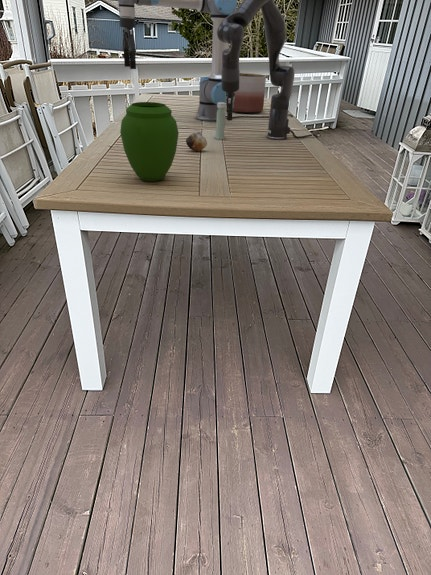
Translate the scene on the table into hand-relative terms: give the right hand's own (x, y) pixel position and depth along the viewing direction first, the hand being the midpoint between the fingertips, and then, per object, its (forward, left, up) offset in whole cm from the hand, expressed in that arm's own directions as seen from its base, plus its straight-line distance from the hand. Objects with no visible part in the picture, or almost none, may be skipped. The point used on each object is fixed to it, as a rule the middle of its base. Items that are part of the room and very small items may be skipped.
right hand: (230, 115), depth 182 cm
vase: (+41, +41, -14) cm, 60 cm away
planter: (-41, -100, -14) cm, 109 cm away
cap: (-1, -20, +2) cm, 20 cm away
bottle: (-1, -20, -14) cm, 24 cm away
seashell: (+16, +4, -14) cm, 22 cm away
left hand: (+39, -52, +14) cm, 66 cm away
